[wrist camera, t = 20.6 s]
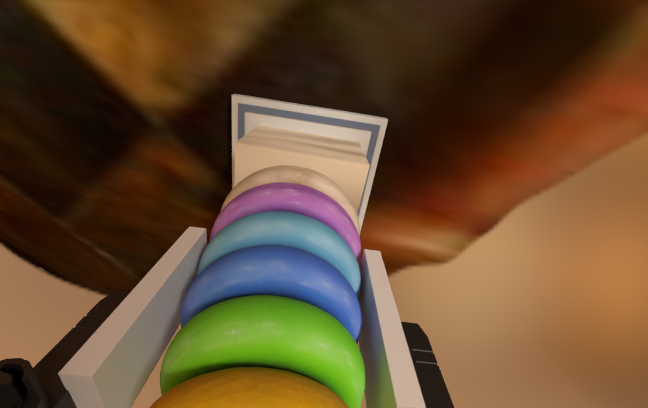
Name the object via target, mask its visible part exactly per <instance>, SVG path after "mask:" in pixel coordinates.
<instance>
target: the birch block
mask: <svg viewBox="0 0 648 408" xmlns="http://www.w3.org/2000/svg"><path fill="white" fill-rule="evenodd" d="M280 165H289V166H298V167H303V168H308V169H311V170H314V171H316V172H319V173H321V174H323V175H325V176H327V177H329V178H330V179H332V180H333V181H335V182H336V183H337V184H338V185H339V186H340V187H341V188H342V189H343V190H344V191H345V192H346V193H347V195H348V196H349V197H350V199H351V200H352V202H353V204H354V206H355V208H356V211H357V213H358V209H359V205H360V201H361V198H362V194H363V190H364V186H365V182H366V178H367V175H368V171H369V167H370V165H369V163H368V160H367V158H366V156H365V154H364V152H363V150H362V148H361V146H360V143H359V142H355V141H350V140H344V139H338V138H333V137H327V136H321V135H316V134H310V133H304V132H299V131H293V130H287V129H281V128H276V127H270V126H264V125H258V126H257V127H255V128H254V129H253V130H251V131H250V132H249V133H247V134H246V135H245V136H243V137H242V138H241V139H239V140H238V141H237V142H235V181H234V187H235V186H236V185H237V184H238V183H239V182H240V181H242V180H243V179H244V178H246V177H247V176H249V175H250V174H252V173H254V172H256V171H259V170H261V169H264V168H268V167H272V166H280Z"/></svg>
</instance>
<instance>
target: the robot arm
mask: <svg viewBox="0 0 648 408" xmlns="http://www.w3.org/2000/svg"><path fill="white" fill-rule="evenodd" d="M206 247H207V232H206V229H205V228H197V227H190V226H189V228H188V229H187V230H186V231H185V232H184V233H183V234H182V235H181V237H180V238H179V239H178V240H177V241H176V242H175V243H174V244H173V245H172V247H171V248H170V249H169V250H168V251H167V252H166V253H165V254H164V256H163V257H162V258H161V259H160V260H159V261H158V262H157V263H156V264H155V266H154V267H153V268H152V269H151V270H150V271H149V272H148V273H147V275H146V276H145V277H144V278H143V279H142V280H141V281H140V282H139V283H138V285H137V286H136V287H135V288H134V289H133V290H132V291H131V292H130V291H121V290H117V291H115V292H113V293H112V294H110V295H109V296H107V297H105V298H104V299H102V300H100V301H99V303H97V304H96V305H95V306H94V307H93V308H92V309H91V310H90V311H89V312H88V314H87V316H86V317H83V318H82V319H81V320H80V321H79V322H78V324H77V325H76V327H75V328H73V329H72V330H71V331H70V332H69V333H68V334H67V335H66V336H65V337H64V338H63V339H62V340H61V341H60V342H59V343H58V344H57V345H56V346H55V347H54V348H53V349H52V350H51V351H50V352H49V353H48V354H47V355H46V356H45V357H44V358H43V359H42V360H41V361H40V362H39V363H38V364H37V365H36V366H35V367H34V368H32V366H31V364H30V362H29V361H27V360H24V359H21V358H14V359H5V360H2V361H0V408H131V407H132V405H133V403H134V401H135V400H136V398H137V396H138V394H139V393H140V391H141V389H142V388H143V386H144V384H145V383H146V381H147V379H148V377H149V376H150V374H151V372H152V371H153V369H154V367H155V366H156V364H157V362H158V360H159V359H160V357H161V355H162V354H163V352H164V350H165V348H166V347H167V345H168V343H169V342H170V340H171V338H172V337H173V335H174V333H175V331H176V330H177V328H178V326H179V325H180V323H181V310H182V305H183V301H184V298H185V296H186V293H187V291H188V289H189V288H190V286H191V284H192V283H193V281H194V280H195V278H196V277H197V273H198V267H199V263H200V260H201V257H202V254H203V253H204V251H205V249H206ZM359 269H360V274H361V291H360V296H359V300H358V301H359V304H360V309H361V318H362V324H361V333H360V338H359V346H360V352H361V355H362V359H363V363H364V367H365V381H366V382H365V397H366V407H367V408H454V406H453V403H452V401H451V398H450V395H449V393H448V390H447V387H446V385H445V382H444V380H443V377H442V374H441V371H440V369H439V366H437V361H436V358H435V356H434V354H433V352H432V348H431V345H430V342H429V340H428V337H427V335H426V334H425V333H424V332H423V330H422V329H421V328H420V326H419V325H418V324H415V323H407V322H401V321H400V318H399V314H398V311H397V308H396V304H395V301H394V297H393V294H392V290H391V287H390V284H389V280H388V277H387V273H386V270H385V267H384V263H383V260H382V256H381V253H380V251H375V250H367V249H364V252H363V256H362V260H361V264H360V267H359Z"/></svg>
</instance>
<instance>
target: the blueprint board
mask: <svg viewBox="0 0 648 408" xmlns="http://www.w3.org/2000/svg"><path fill="white" fill-rule="evenodd" d="M387 122H388V119H387V118H384V117H378V116H372V115H365V114H359V113H353V112H347V111H340V110H334V109H328V108H321V107H315V106H309V105H302V104H296V103H290V102H284V101H277V100H271V99H265V98H258V97H252V96H246V95H240V94H233V95H232V189H233V188H234V181H235V142H237V141H238V140H239V139H241V138H242V137H243V136H245V135H246V134H247V133H249V132H250V131H251V130H253V129H254V128H255V127H257V126H258V125H264V126H270V127H276V128H281V129H287V130H293V131H299V132H304V133H310V134H316V135H321V136H327V137H333V138H338V139H344V140H350V141H355V142H359V143H360V146H361V148H362V150H363V152H364V154H365V156H366V158H367V160H368V163H369V165H370V167H369V171H368V175H367V178H366V182H365V186H364V190H363V194H362V198H361V201H360V205H359V209H358V213H357V214H358V218H359V224H360V231H361V227H362V223H363V219H364V215H365V211H366V207H367V203H368V199H369V195H370V191H371V187H372V183H373V179H374V175H375V171H376V167H377V163H378V159H379V155H380V151H381V146H382V142H383V138H384V134H385V130H386V126H387Z"/></svg>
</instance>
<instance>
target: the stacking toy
mask: <svg viewBox="0 0 648 408" xmlns="http://www.w3.org/2000/svg"><path fill="white" fill-rule="evenodd" d="M360 260H361V243H360V224H359V218H358V214H357V211H356V208H355V206H354V204H353V202H352V200H351V199H350V197H349V196H348V195H347V193H346V192H345V191H344V190H343V189H342V188H341V187H340V186H339V185H338V184H337V183H336V182H335V181H333V180H332V179H330V178H329V177H327V176H325V175H323V174H321V173H319V172H316V171H314V170H311V169H308V168H303V167H298V166H289V165H280V166H272V167H268V168H264V169H261V170H259V171H256V172H254V173H252V174H250V175H249V176H247V177H246V178H244V179H243V180H242V181H240V182H239V183H238V184H237V185H236V186H235V187H234V188H233V189H232V190H231V192H230V193H229V195H228V196H227V198H226V199H225V201H224V203H223V206H222V209H221V212H220V214H219V215H218V217H217V219H216V221H215V223H214V225H213V228H212V231H211V235H210V242H209V244H208V245H207V247H206V249H205V251H204V253H203V254H202V257H201V260H200V263H199V267H198V273H197V277H196V278H195V280H194V281H193V283H192V284H191V286H190V288H189V289H188V291H187V293H186V296H185V298H184V301H183V305H182V310H181V330H180V331H179V332H178V333H177V335H176V336H175V338H174V339H173V341H172V342H171V344H170V346H169V348H168V350H167V352H166V354H165V357H164V359H163V363H162V368H161V372H160V387H161V394H162V396H161V397H160V398H159V399H158V400H156V402H154V404H153V405H152V406H151V407H150V408H360V406H361V403H362V400H363V396H364V392H365V382H366V381H365V367H364V363H363V359H362V355H361V352H360V350H359V347H358V346H357V344H358V341H359V338H360V333H361V324H362V318H361V309H360V304H359V301H358V300H359V296H360V291H361V274H360V269H359V265H360Z"/></svg>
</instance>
